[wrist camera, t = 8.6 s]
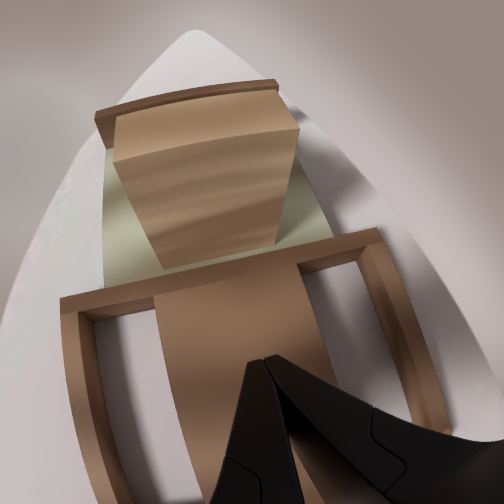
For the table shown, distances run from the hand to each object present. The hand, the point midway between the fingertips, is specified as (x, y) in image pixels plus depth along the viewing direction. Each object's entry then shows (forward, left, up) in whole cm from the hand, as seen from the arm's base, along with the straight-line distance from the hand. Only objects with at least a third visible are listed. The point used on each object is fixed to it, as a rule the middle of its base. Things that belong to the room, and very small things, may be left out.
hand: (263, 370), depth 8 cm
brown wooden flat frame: (+4, +1, -8) cm, 9 cm away
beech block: (+11, +3, -6) cm, 13 cm away
